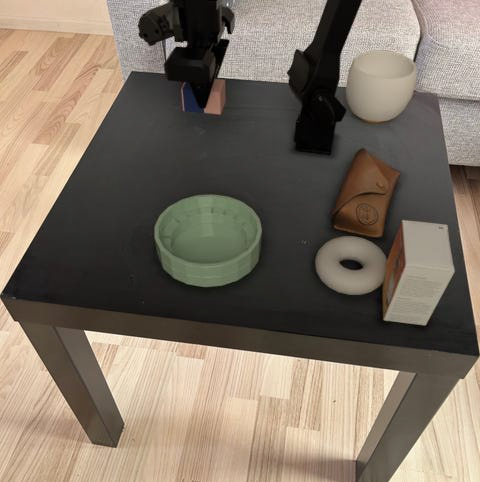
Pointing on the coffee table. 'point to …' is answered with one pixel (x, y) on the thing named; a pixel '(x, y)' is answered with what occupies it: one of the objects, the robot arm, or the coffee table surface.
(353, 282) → the donut
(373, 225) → the sunglasses case
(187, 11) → the robot arm
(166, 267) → the bowl
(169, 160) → the coffee table surface
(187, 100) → the eraser
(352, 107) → the cup
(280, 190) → the coffee table surface
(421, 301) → the small box
